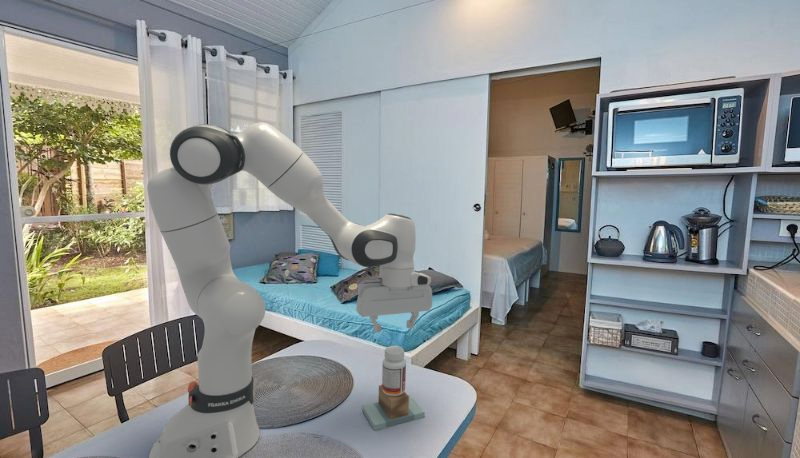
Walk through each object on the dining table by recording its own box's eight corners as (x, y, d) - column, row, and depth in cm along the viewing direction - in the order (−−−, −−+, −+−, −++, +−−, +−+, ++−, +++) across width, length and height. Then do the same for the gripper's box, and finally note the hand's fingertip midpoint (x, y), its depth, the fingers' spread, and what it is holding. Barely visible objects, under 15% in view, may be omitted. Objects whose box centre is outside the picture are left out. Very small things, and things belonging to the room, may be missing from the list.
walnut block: (390, 419, 94) (391, 400, 93) (378, 403, 101) (378, 385, 101) (408, 414, 96) (408, 396, 96) (395, 398, 103) (395, 381, 103)
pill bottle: (395, 382, 103) (396, 343, 101) (409, 392, 98) (411, 350, 97) (377, 389, 99) (378, 348, 98) (391, 399, 94) (392, 357, 93)
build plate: (374, 430, 92) (374, 425, 92) (362, 410, 100) (362, 405, 100) (424, 417, 98) (424, 412, 97) (409, 399, 106) (409, 394, 106)
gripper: (362, 282, 88) (359, 338, 89) (436, 278, 97) (433, 329, 98) (353, 276, 94) (351, 329, 95) (424, 273, 102) (422, 322, 103)
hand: (394, 329), depth 96 cm, fingers open, 8 cm apart
